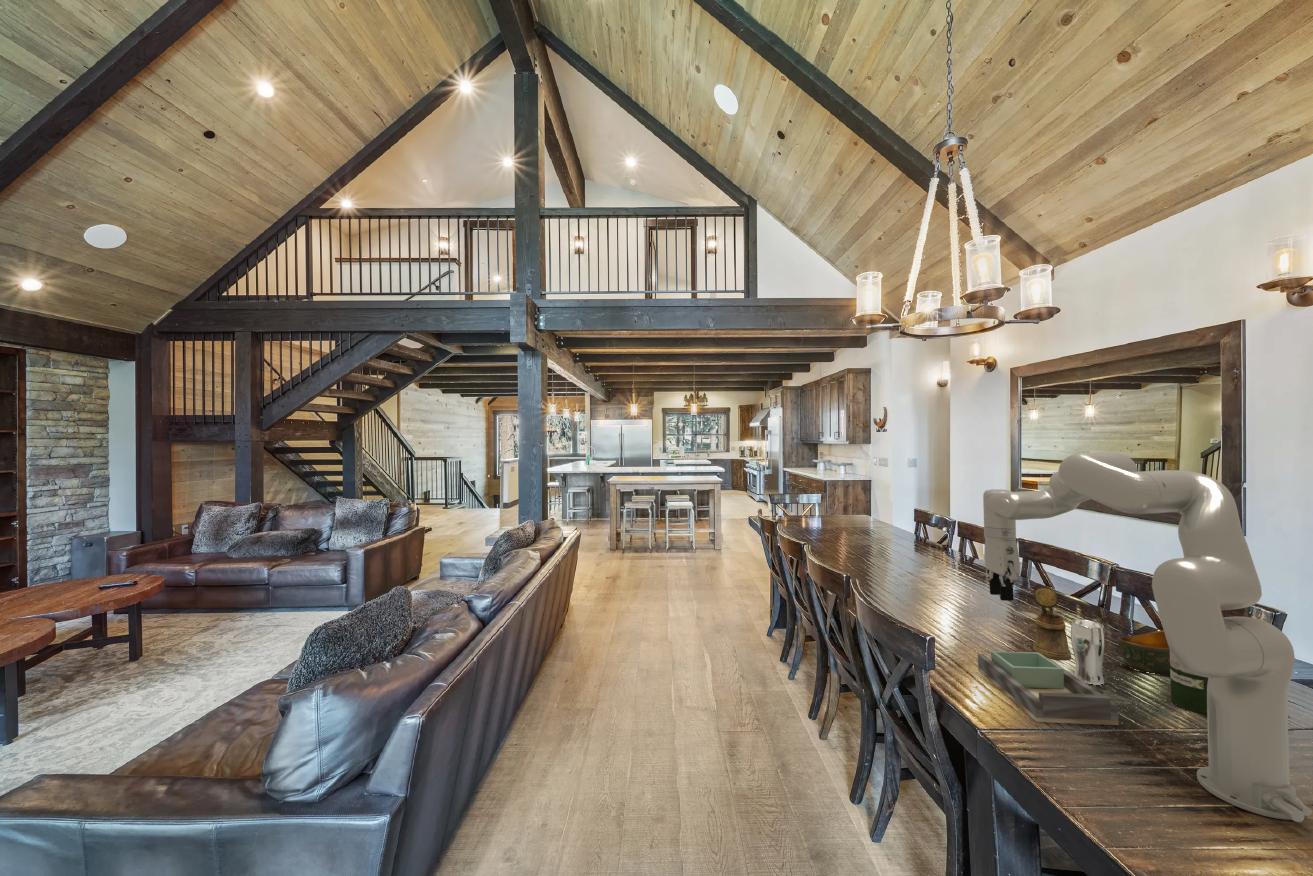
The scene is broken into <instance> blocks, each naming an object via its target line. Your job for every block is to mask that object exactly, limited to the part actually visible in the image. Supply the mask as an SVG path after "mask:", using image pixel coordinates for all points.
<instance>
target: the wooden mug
mask: <svg viewBox="0 0 1313 876" xmlns="http://www.w3.org/2000/svg"><path fill="white" fill-rule="evenodd" d="M1033 597H1034V601H1035V603H1036V604H1038V605H1039V606H1040V607H1041V613H1038V614H1037V618H1036V620H1035V624H1036V629H1035V630H1036V631H1035V638H1034V642H1033V644H1032V650H1033V652H1039V653H1040V654H1042V655H1043V656H1045V657H1047V658H1048V659H1051V658H1052V660H1061V661H1065V660H1070V659H1072V653H1071V650H1070V647H1069V643H1068V638H1067V637H1068V636H1067V634H1066V622H1065V621H1064V617H1062V616H1061V615H1058V614H1057V615H1056V614H1054V609H1053V608H1054V607H1056V606H1058V604H1059V595H1058V593H1057V592H1056V591H1055V590H1053V589H1052V588H1051V587H1049V586H1047V585H1042V586H1040V587H1038V588H1036V589H1035V591H1034V595H1033Z"/></svg>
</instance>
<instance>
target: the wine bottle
mask: <svg viewBox="0 0 1313 876" xmlns="http://www.w3.org/2000/svg"><path fill="white" fill-rule="evenodd" d="M1169 678H1170V701H1171V702H1172V701H1173V702H1174V703H1175V704H1174V703H1173V702H1172V703H1173V704H1174V705H1176V704H1177V705H1178V707H1179V706H1180V707H1179V708H1181V707H1182V709H1183V708H1184V710H1187V711H1189V712H1193V713H1196V714H1201V715H1207V683H1208V678H1207V677H1202V676H1199V675H1197V674H1194V673H1192V672H1190V671H1189V670H1187V669H1186V668H1185V667H1183V666H1182V665H1181V664H1180V663H1179V662H1178V661H1177V659H1176V658H1175V657H1174V655H1173V654H1172V652H1171V650H1170V676H1169ZM1177 705H1176V706H1177Z"/></svg>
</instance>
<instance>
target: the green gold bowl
mask: <svg viewBox="0 0 1313 876" xmlns="http://www.w3.org/2000/svg"><path fill="white" fill-rule="evenodd" d="M1117 646H1118V651H1119V653H1120V656H1121V658H1122V659H1123V661H1124V662H1125V663H1126V664H1128V667H1129V668H1130V667H1131V668H1133V669H1136V670H1140V671H1143V672H1149V673H1155V674H1160V675H1159V676H1164V675H1170V648H1169V645H1168V643H1167V640H1166V637H1165V633H1164V630H1159V631H1152V632H1147V633H1144V634H1139V635H1138V634H1137V635H1124V636H1118V637H1117ZM1131 668H1130V669H1131ZM1133 669H1132V670H1133Z"/></svg>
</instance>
